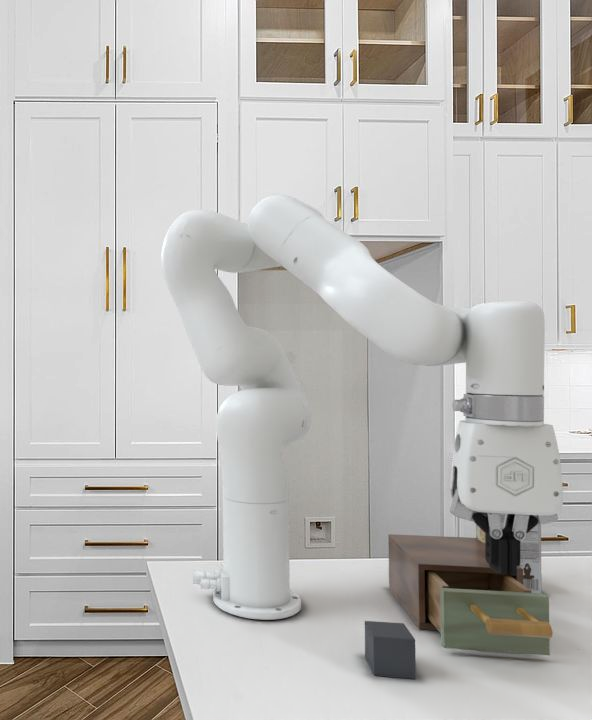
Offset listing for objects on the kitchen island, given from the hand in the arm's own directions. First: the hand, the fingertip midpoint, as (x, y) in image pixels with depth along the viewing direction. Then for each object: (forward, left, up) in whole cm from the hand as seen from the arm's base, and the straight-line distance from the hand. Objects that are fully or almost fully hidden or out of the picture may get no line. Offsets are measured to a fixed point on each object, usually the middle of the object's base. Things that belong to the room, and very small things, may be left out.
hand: (502, 570), depth 68 cm
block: (-13, -1, -11) cm, 17 cm away
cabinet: (0, +18, -11) cm, 21 cm away
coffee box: (+13, +31, -12) cm, 35 cm away
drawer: (0, +6, -10) cm, 12 cm away
